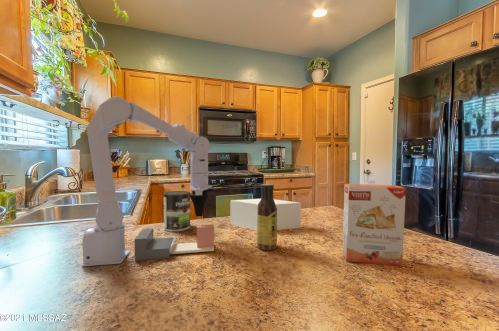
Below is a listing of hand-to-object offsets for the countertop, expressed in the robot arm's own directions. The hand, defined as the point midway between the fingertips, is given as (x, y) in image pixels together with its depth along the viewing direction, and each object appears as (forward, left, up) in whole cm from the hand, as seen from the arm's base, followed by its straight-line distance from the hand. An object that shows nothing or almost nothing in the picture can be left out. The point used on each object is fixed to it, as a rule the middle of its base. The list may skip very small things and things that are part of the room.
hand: (199, 213), depth 78 cm
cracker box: (+47, -24, -10) cm, 53 cm away
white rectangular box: (+26, +12, -10) cm, 30 cm away
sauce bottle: (+21, -10, -10) cm, 25 cm away
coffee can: (-9, +16, -10) cm, 21 cm away
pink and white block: (-3, -8, -9) cm, 12 cm away
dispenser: (-13, -8, -9) cm, 17 cm away
